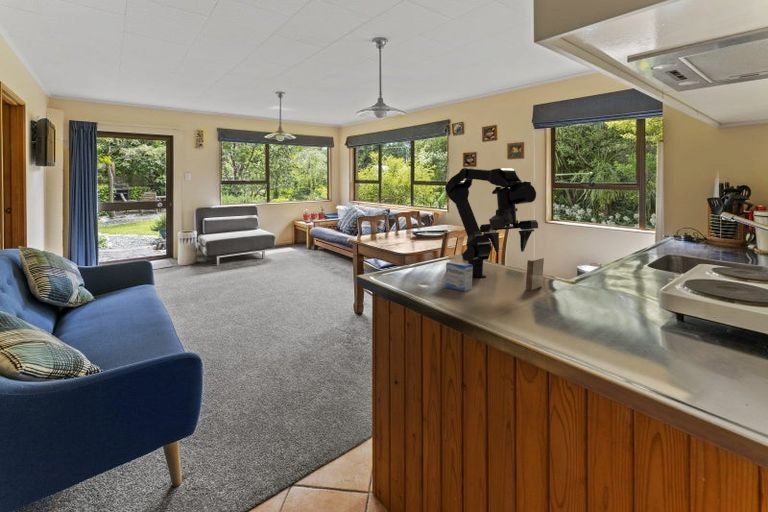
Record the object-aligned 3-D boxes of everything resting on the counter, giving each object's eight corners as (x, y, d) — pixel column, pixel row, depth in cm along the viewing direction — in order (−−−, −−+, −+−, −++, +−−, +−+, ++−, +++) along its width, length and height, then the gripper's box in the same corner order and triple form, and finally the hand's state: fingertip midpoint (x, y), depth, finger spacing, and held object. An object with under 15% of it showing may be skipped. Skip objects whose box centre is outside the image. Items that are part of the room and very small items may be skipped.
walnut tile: (525, 289, 136) (527, 260, 134) (536, 285, 140) (538, 257, 139) (531, 290, 134) (533, 261, 132) (541, 287, 139) (544, 258, 137)
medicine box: (444, 287, 139) (445, 262, 137) (452, 285, 142) (452, 260, 140) (464, 291, 133) (465, 265, 132) (472, 289, 136) (473, 263, 135)
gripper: (469, 209, 139) (472, 254, 139) (521, 202, 126) (524, 253, 126) (486, 208, 147) (489, 252, 147) (537, 202, 133) (540, 250, 134)
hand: (509, 252), depth 139 cm, fingers open, 9 cm apart
